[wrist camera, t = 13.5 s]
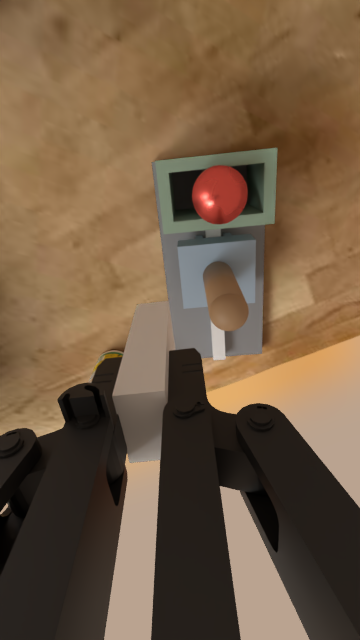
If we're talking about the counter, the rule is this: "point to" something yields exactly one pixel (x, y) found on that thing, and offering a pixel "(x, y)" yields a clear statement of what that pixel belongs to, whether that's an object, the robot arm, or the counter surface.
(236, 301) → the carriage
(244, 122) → the counter surface
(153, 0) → the counter surface
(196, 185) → the button
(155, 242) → the counter surface
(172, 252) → the track
